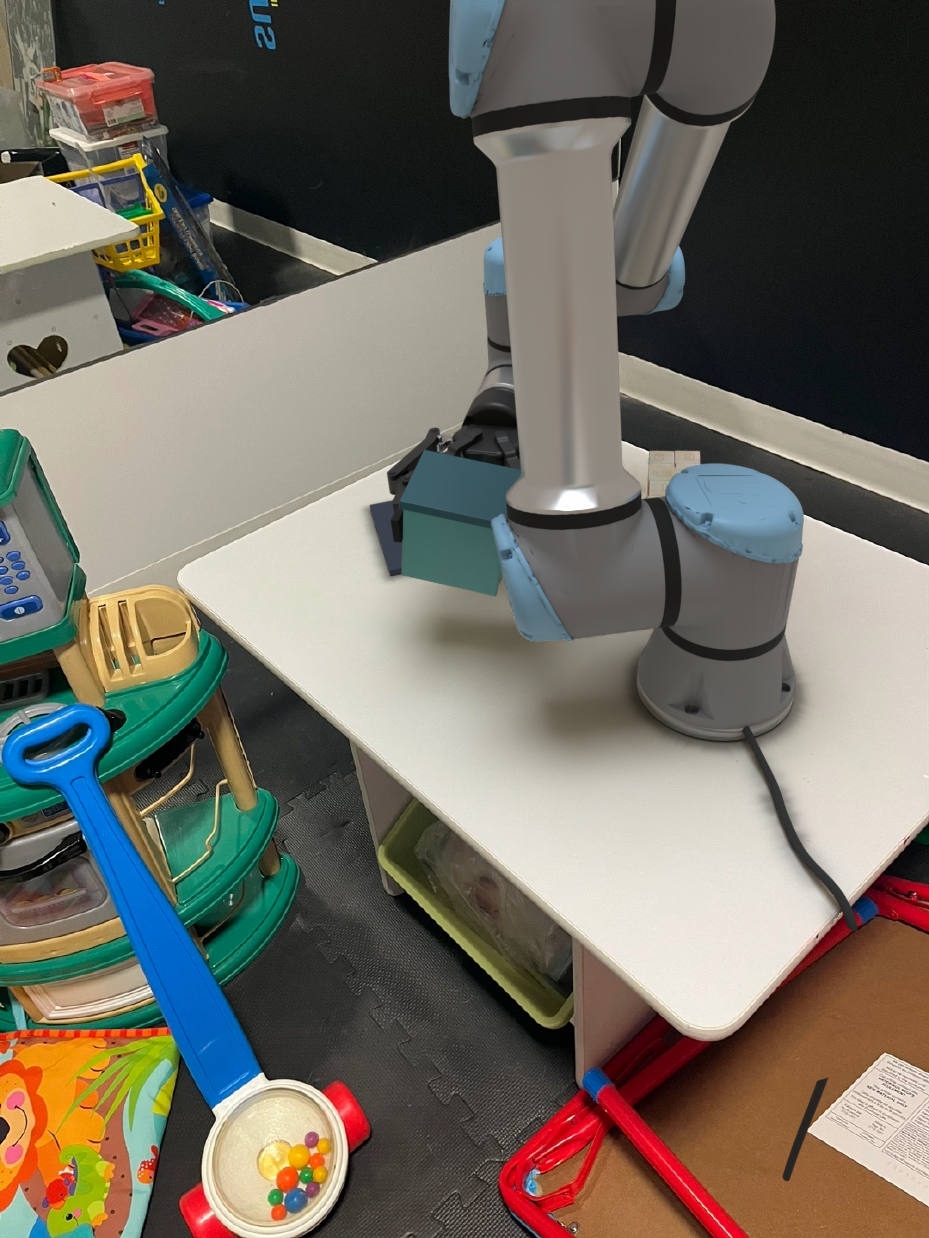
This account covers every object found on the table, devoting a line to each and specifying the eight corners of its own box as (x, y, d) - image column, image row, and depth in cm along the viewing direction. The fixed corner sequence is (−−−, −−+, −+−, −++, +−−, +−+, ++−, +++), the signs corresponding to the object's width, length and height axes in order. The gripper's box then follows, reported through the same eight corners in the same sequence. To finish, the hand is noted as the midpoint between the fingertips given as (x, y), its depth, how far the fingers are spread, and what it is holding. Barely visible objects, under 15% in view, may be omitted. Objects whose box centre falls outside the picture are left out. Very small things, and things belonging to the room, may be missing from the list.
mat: (501, 553, 113) (500, 547, 113) (390, 576, 112) (389, 570, 111) (470, 489, 126) (469, 484, 125) (370, 509, 124) (369, 504, 123)
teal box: (420, 524, 100) (424, 449, 93) (515, 545, 98) (526, 471, 91) (397, 576, 94) (399, 500, 87) (497, 599, 93) (508, 524, 85)
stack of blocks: (645, 513, 117) (650, 427, 110) (695, 515, 116) (704, 427, 109) (640, 619, 101) (645, 526, 94) (698, 622, 100) (708, 528, 92)
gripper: (602, 453, 103) (568, 581, 88) (408, 436, 109) (345, 554, 94) (605, 394, 98) (569, 519, 83) (401, 379, 103) (333, 494, 88)
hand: (451, 538), depth 88 cm, fingers closed on teal box, 10 cm apart
